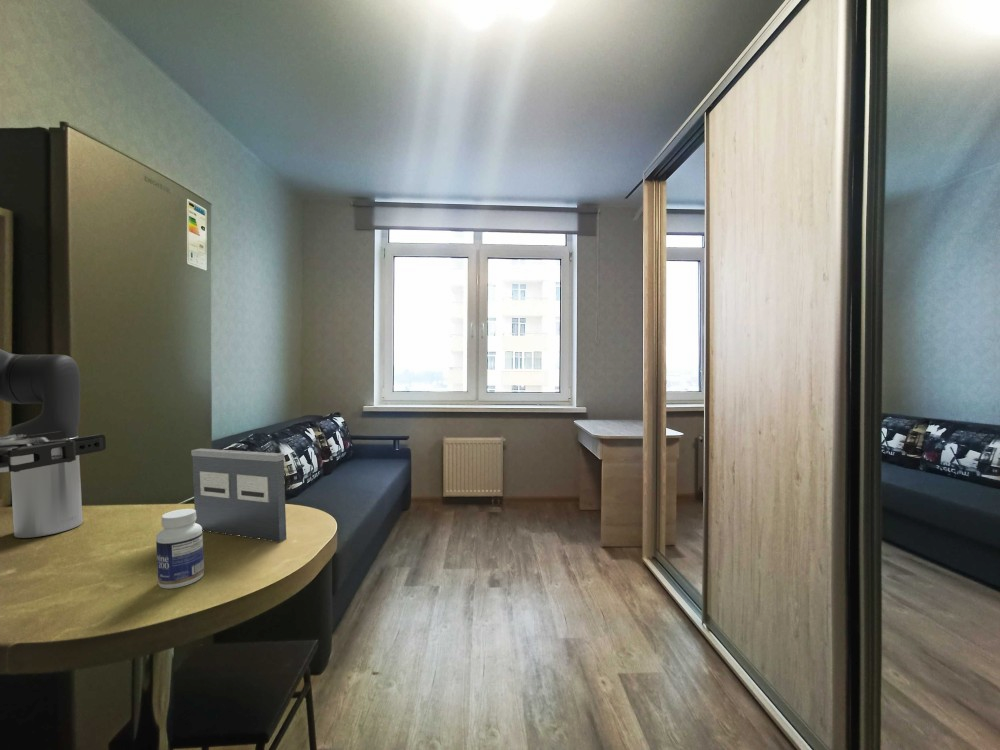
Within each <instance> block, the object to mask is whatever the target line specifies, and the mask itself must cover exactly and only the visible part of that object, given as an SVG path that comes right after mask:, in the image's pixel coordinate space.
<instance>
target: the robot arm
mask: <svg viewBox="0 0 1000 750" xmlns="http://www.w3.org/2000/svg"><path fill="white" fill-rule="evenodd" d="M81 383H82V382H81V372H80V368H79V366H78V364H77V361H75V359H73V357H71V356H69V355H66V354H17V353H11V352H8V351H5V350H3V349H1V348H0V400H1V401H3V402H7V403H9V404H14V405H15V404H17V405H31V404H32V405H34V404H36V405H37V404H42V406H41V408H42V409H41V412H40V414H39V415H37V416H36V417H34V418H32V419H30V420H28V421H25V422H22V423H18V424H15V425H13V426H11V427H10V428H9V429H8V432H7V433H8V434H1V435H0V473H9V472H10V484H11V485H10V486H11V488H10V489H11V504H12V523H13V524H12V525H13V536H14V537H15V538H19V539H20V538H21V539H27V538H28V539H29V538H36V537H37V538H39V537H43V536H49V535H54V534H59V533H62V532H65V531H68V530H72V529H74V528H77V527H79V526H81V525H82V524H83V507H82V505H83V504H82V503H83V502H82V501H83V500H82V488H81V487H82V483H81V465H80V456H82V455H87V454H92V453H98V452H103V451H104V450H106V448H107V442H106V436H105V435H104V434H101V433H99V434H93V435H92V434H91V435H85V436H79V426H80V421H81V386H82V385H81Z"/></svg>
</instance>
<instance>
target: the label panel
mask: <svg viewBox="0 0 1000 750" xmlns="http://www.w3.org/2000/svg"><path fill="white" fill-rule="evenodd" d="M190 453H191V454H190V455H191V457H192V479H193V482H192V483H193V501H194V502H193V504H194V510H196V517H197V518H196V521H195V522H194V523H197V524H199V525H200V526H201V527H202V530H204V531H203V532H206V531H211V532H210V533H213V532H218V533H217V534H220V533H224V534H223V535H227V534H232V535H231V536H234V535H240V536H239V537H241V536H246V537H245V538H247V537H252V538H251V539H254V538H260V539H259V540H261V539H266V540H265V541H268V540H272V541H271V542H275V541H278V542H277V543H281V542H283V541H285V540H287V516H286V515H287V514H286V513H287V512H286V487H285V483H286V482H285V463H284V461H285V453H282V452H281V453H278V452H266V451H265V452H263V451H262V452H261V451H245V450H234V449H233V450H232V449H231V450H230V449H214V448H197V449H191V452H190ZM225 533H226V534H225Z"/></svg>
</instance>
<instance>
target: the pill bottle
mask: <svg viewBox="0 0 1000 750" xmlns="http://www.w3.org/2000/svg"><path fill="white" fill-rule="evenodd" d="M196 518H197V517H196V510H195V508H182V509H181V508H180V509H175V510H172V511H169V512H168V511H167V512H166V513H163V514H162V515H161V527H162V528H163V529H160V531H158V532H157V534H156V537H155V538H156V539H155V543H156V567H157V582H158V586H159V587H160V588H163V589H167V590H169V589H178V588H182V587H185V586H188V585H191V584H193V583H196V582H198V581H199V580H200V579H201V578H202V577H203V576H204V574H205V572H204V571H205V563H204V562H205V560H204V541H203V540H204V537H203V536H204V535H203V532H204V531H202V527H201V526H200V525H199V524H197V523H195V521H196Z"/></svg>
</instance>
